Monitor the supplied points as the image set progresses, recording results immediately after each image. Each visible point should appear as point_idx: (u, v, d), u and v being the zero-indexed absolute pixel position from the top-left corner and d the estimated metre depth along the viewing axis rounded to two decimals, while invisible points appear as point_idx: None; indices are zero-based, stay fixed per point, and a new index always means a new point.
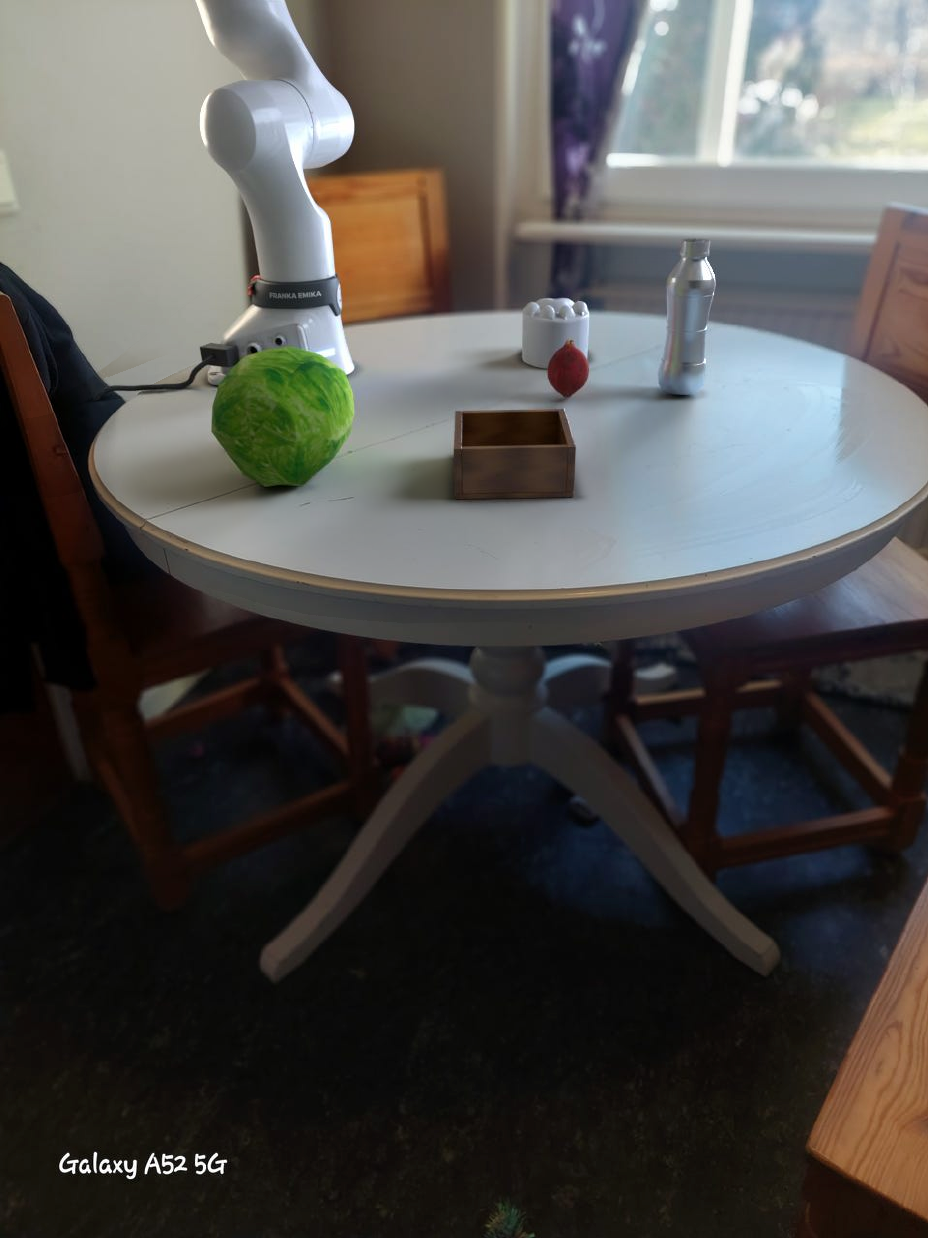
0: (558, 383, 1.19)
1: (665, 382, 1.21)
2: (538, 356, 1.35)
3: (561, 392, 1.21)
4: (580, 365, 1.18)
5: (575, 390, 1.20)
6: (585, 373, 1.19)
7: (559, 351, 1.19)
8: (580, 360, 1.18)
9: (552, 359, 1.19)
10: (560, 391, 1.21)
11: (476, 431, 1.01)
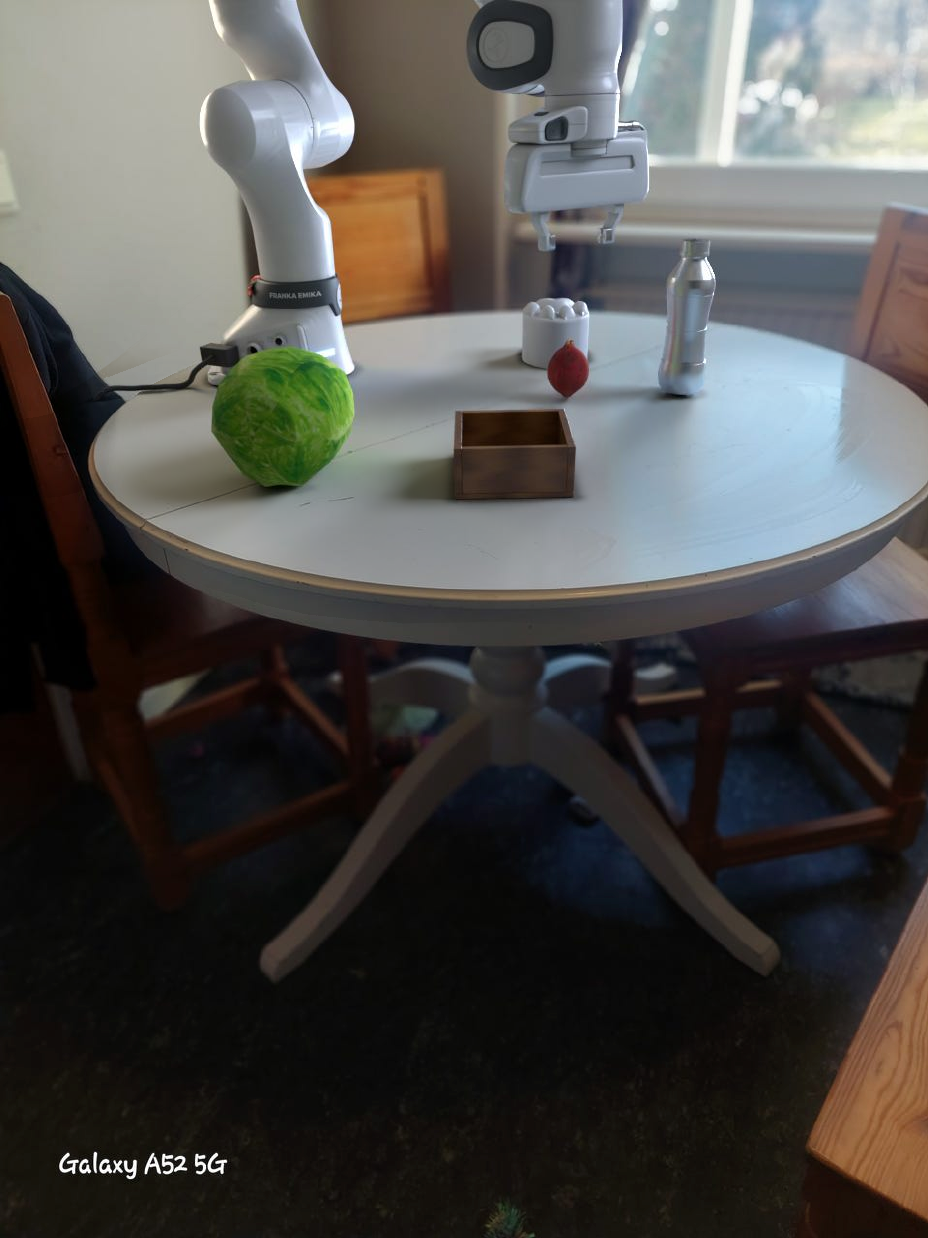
0: (558, 383, 1.19)
1: (665, 381, 1.21)
2: (538, 356, 1.35)
3: (561, 392, 1.21)
4: (580, 365, 1.18)
5: (575, 390, 1.20)
6: (585, 373, 1.19)
7: (559, 351, 1.19)
8: (580, 360, 1.18)
9: (552, 359, 1.19)
10: (560, 391, 1.21)
11: (476, 431, 1.01)
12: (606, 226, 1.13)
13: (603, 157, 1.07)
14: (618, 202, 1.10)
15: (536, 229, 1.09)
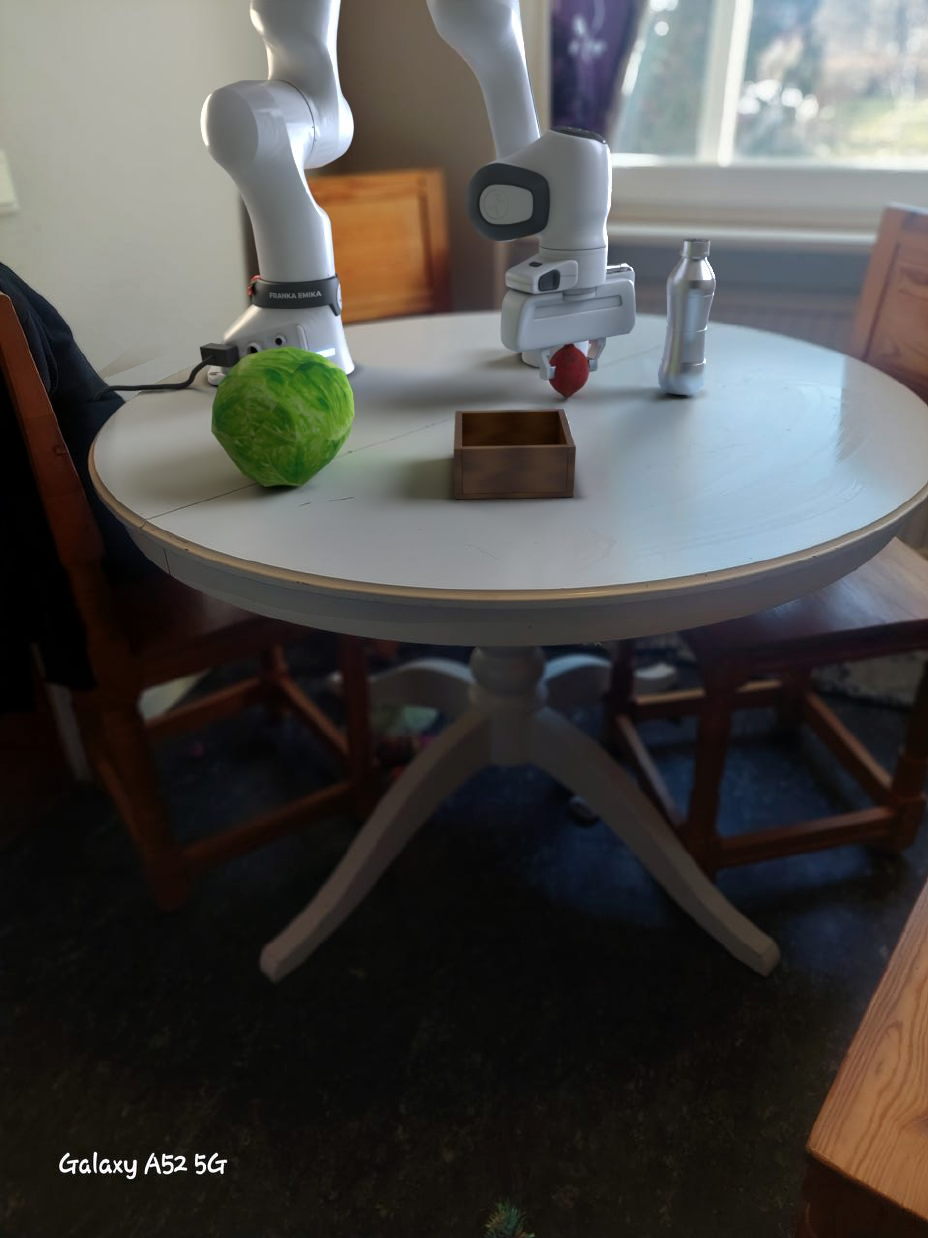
0: (558, 383, 1.19)
1: (665, 381, 1.21)
2: None
3: (561, 392, 1.21)
4: (580, 365, 1.18)
5: (575, 390, 1.20)
6: (585, 373, 1.19)
7: (559, 351, 1.19)
8: (580, 360, 1.18)
9: (552, 359, 1.19)
10: (560, 391, 1.21)
11: (476, 431, 1.01)
12: (589, 356, 1.22)
13: (593, 299, 1.15)
14: (606, 336, 1.19)
15: (538, 361, 1.18)
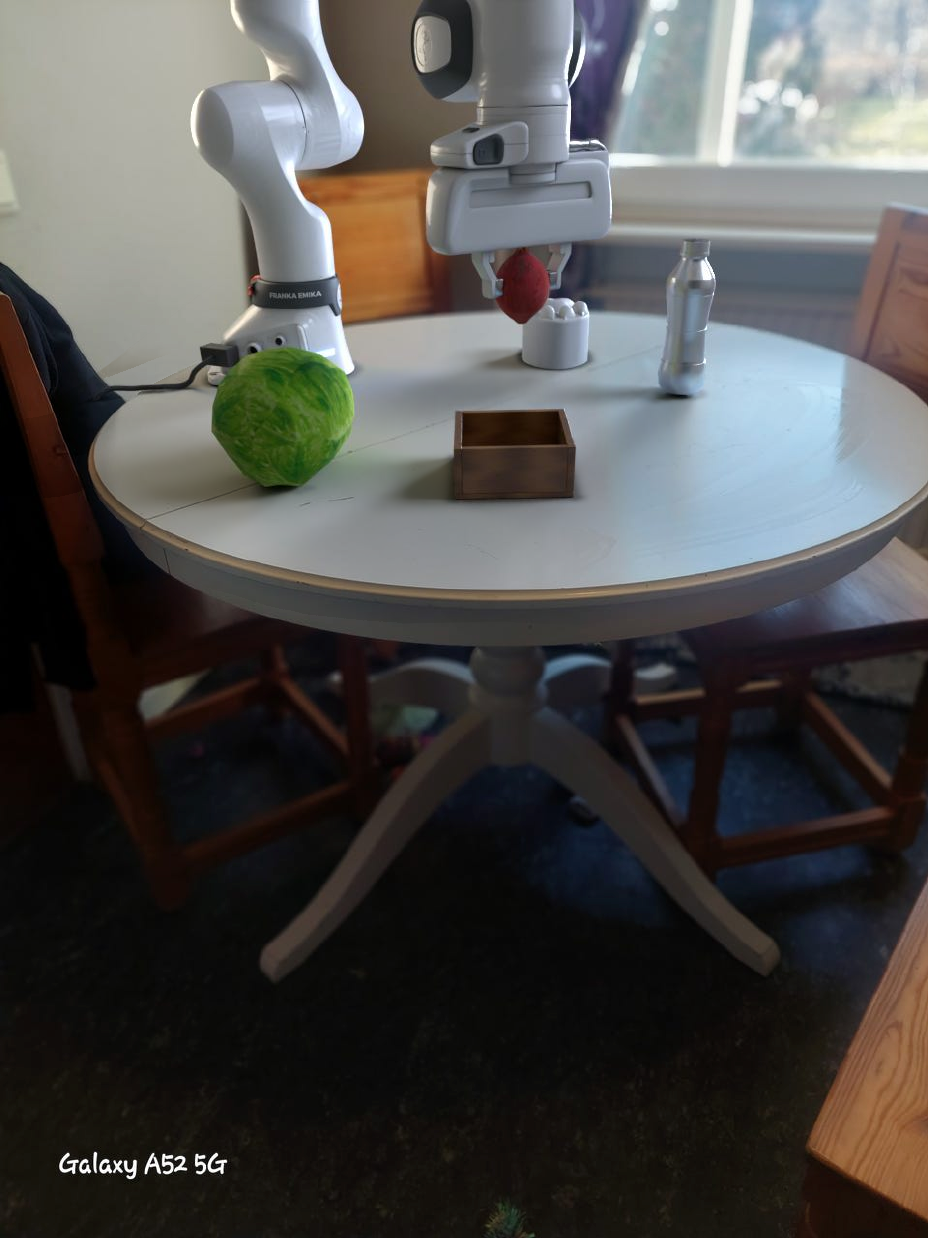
0: (508, 303, 0.89)
1: (665, 381, 1.21)
2: (538, 356, 1.35)
3: (513, 316, 0.90)
4: (537, 277, 0.88)
5: (531, 313, 0.90)
6: (544, 289, 0.89)
7: (509, 259, 0.88)
8: (537, 271, 0.88)
9: (499, 270, 0.89)
10: (511, 315, 0.90)
11: (476, 431, 1.01)
12: (550, 269, 0.91)
13: (552, 184, 0.85)
14: (572, 239, 0.89)
15: (479, 271, 0.88)
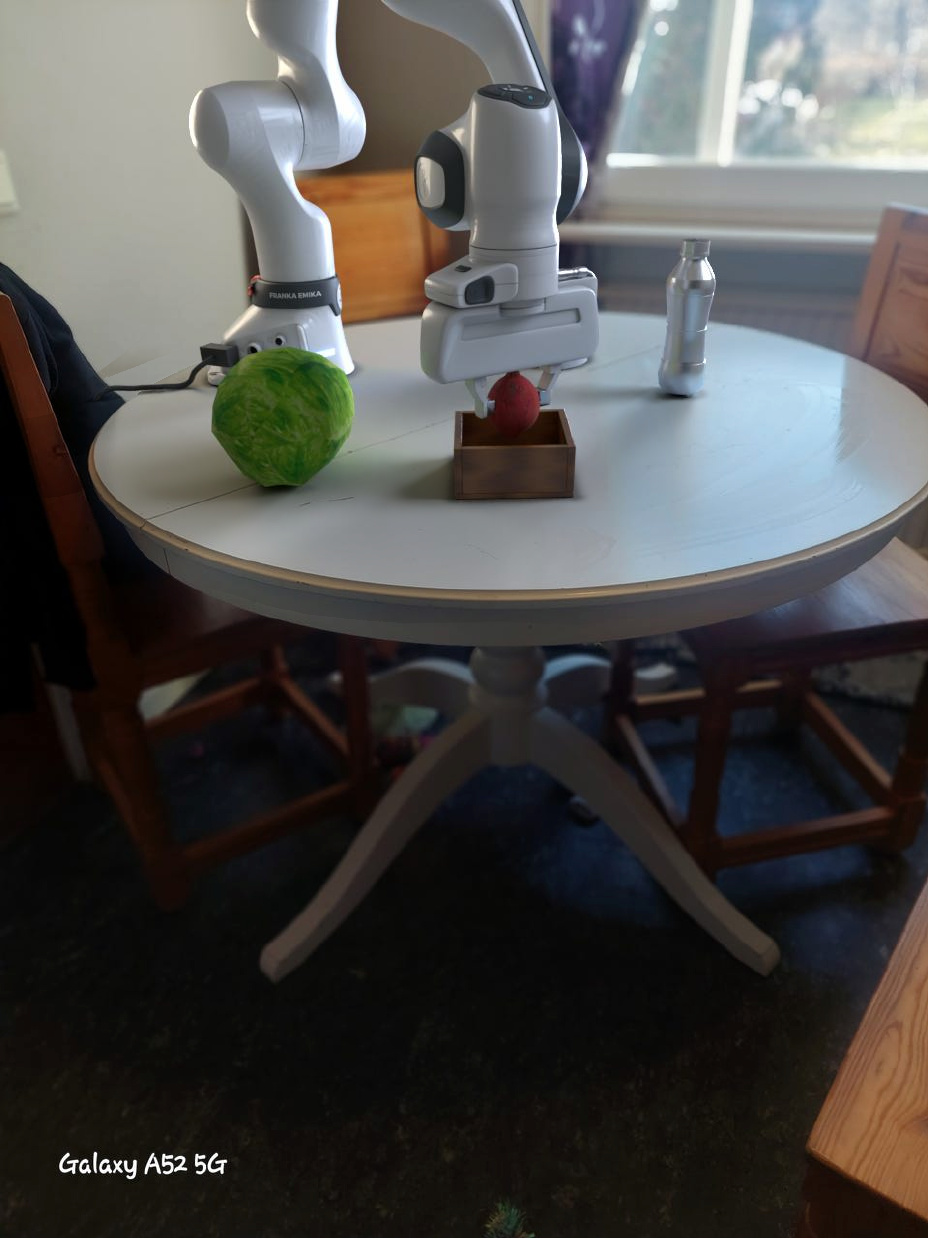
0: (499, 422, 0.92)
1: (665, 381, 1.21)
2: None
3: (504, 433, 0.94)
4: (527, 399, 0.91)
5: (522, 430, 0.93)
6: (534, 410, 0.92)
7: (501, 381, 0.92)
8: (527, 393, 0.91)
9: (491, 391, 0.92)
10: (503, 432, 0.94)
11: (476, 431, 1.01)
12: (540, 386, 0.95)
13: (541, 313, 0.89)
14: (561, 361, 0.92)
15: (472, 394, 0.91)
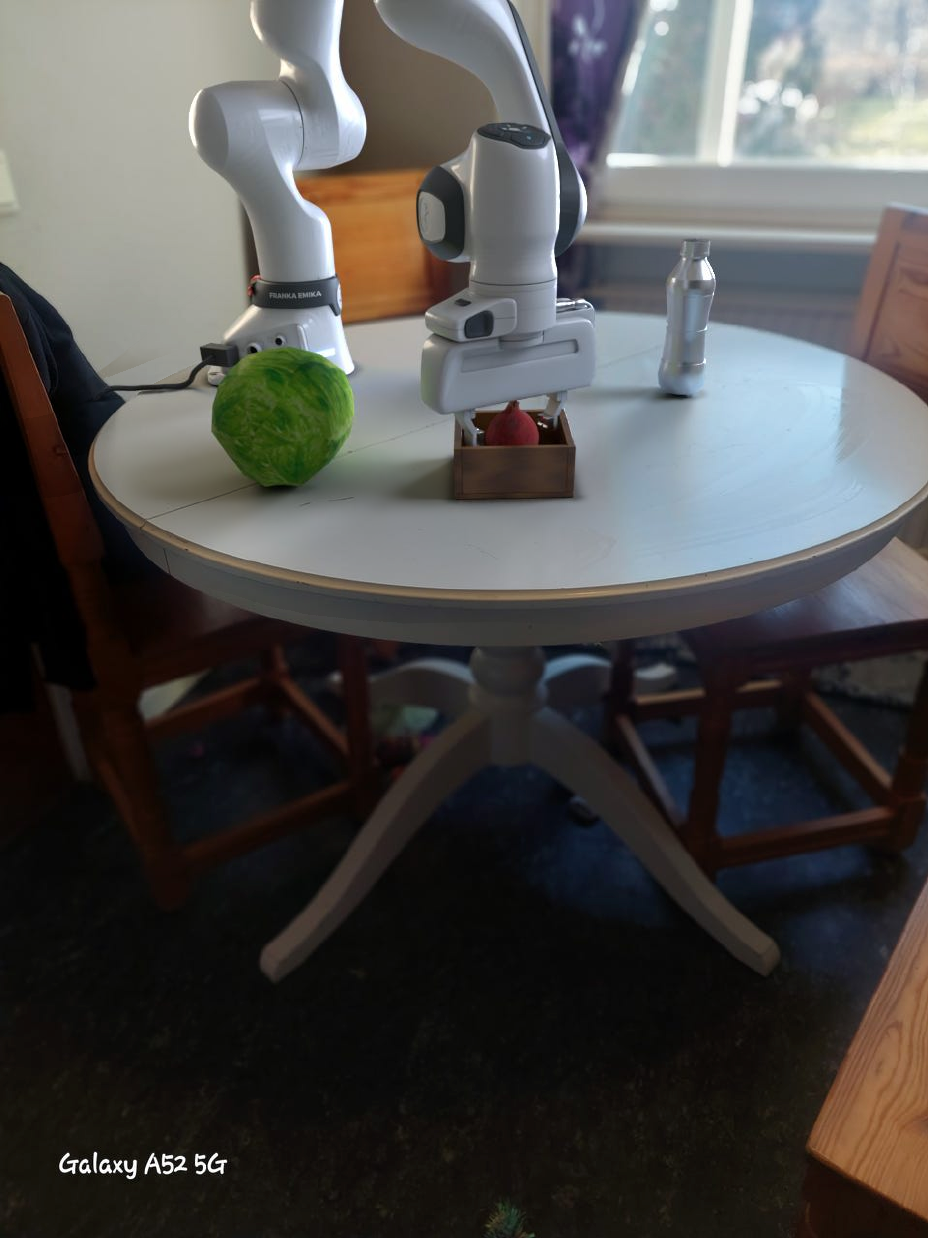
0: None
1: (665, 381, 1.21)
2: None
3: None
4: (526, 433, 0.93)
5: None
6: (533, 444, 0.94)
7: (500, 415, 0.94)
8: (526, 427, 0.93)
9: (491, 425, 0.94)
10: None
11: None
12: (547, 412, 0.97)
13: (540, 345, 0.90)
14: (559, 390, 0.94)
15: (461, 424, 0.92)
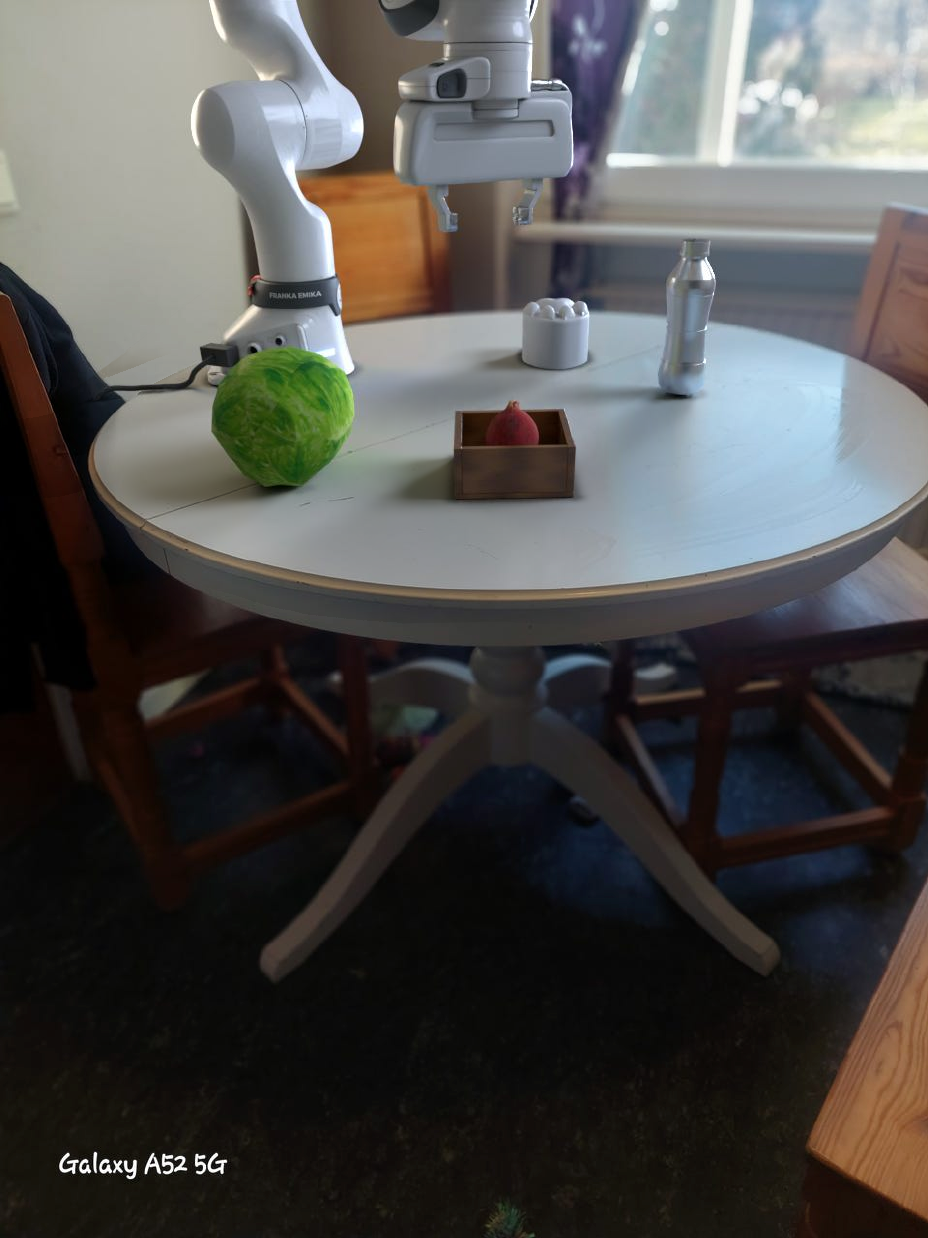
0: None
1: (665, 381, 1.21)
2: (538, 356, 1.35)
3: None
4: (526, 433, 0.93)
5: None
6: (533, 444, 0.94)
7: (500, 415, 0.94)
8: (526, 427, 0.93)
9: (491, 425, 0.94)
10: None
11: (476, 431, 1.01)
12: (522, 204, 0.96)
13: (515, 121, 0.89)
14: (534, 176, 0.93)
15: (434, 205, 0.92)
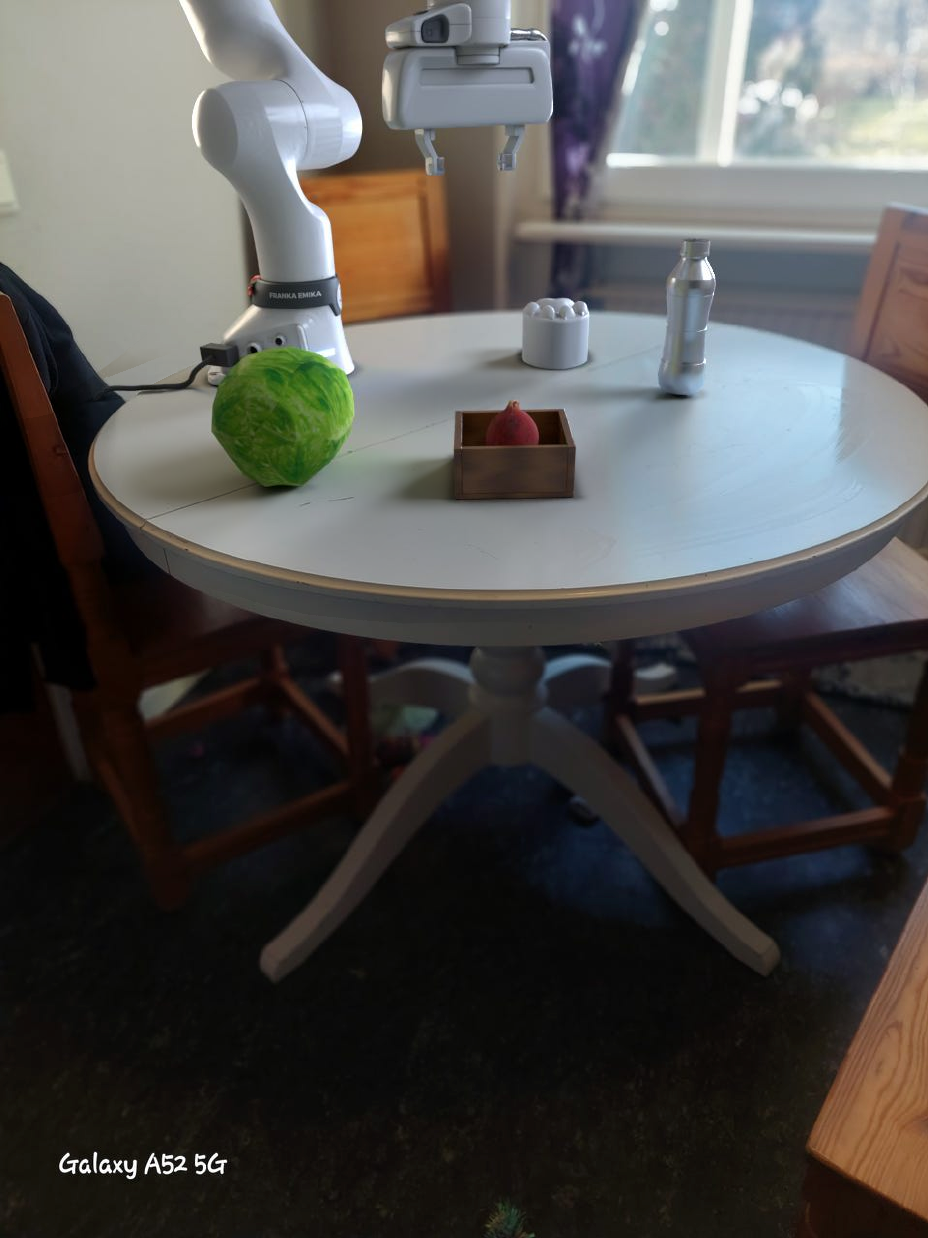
0: None
1: (665, 381, 1.21)
2: (538, 356, 1.35)
3: None
4: (526, 433, 0.93)
5: None
6: (533, 444, 0.94)
7: (500, 415, 0.94)
8: (526, 427, 0.93)
9: (491, 425, 0.94)
10: None
11: (476, 431, 1.01)
12: (506, 151, 1.01)
13: (496, 68, 0.94)
14: (516, 122, 0.98)
15: (422, 150, 0.96)
